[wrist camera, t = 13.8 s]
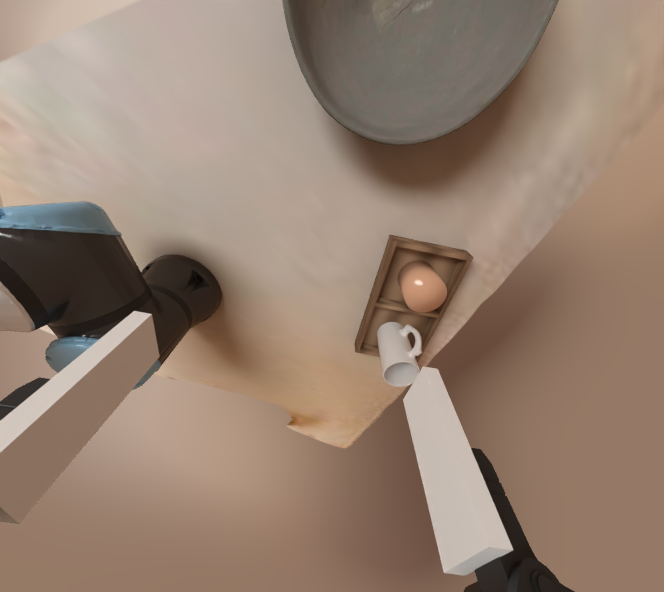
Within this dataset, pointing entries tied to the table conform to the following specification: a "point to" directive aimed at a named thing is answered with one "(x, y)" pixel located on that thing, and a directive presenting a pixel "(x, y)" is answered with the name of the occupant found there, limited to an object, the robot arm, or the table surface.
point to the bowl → (412, 60)
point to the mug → (398, 353)
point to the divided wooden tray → (390, 300)
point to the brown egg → (421, 286)
